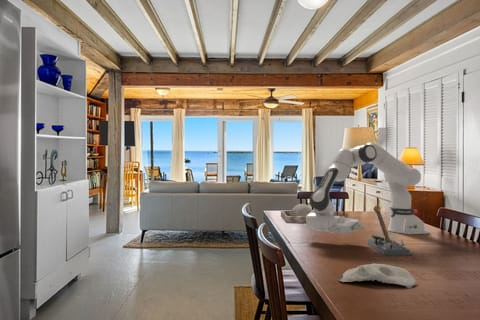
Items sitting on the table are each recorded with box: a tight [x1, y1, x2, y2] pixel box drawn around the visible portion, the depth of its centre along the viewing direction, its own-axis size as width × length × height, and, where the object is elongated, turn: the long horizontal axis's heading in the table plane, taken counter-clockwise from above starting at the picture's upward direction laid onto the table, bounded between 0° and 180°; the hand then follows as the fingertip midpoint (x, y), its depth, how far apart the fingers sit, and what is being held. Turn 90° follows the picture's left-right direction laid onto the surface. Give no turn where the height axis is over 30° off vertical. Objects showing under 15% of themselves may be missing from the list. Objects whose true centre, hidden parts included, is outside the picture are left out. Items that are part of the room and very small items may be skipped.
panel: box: [367, 238, 411, 256], centre depth 176 cm, size 12×20×5 cm, turn 1°
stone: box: [338, 263, 418, 289], centre depth 134 cm, size 28×7×15 cm
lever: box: [373, 205, 392, 246], centre depth 173 cm, size 3×4×20 cm
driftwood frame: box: [280, 210, 306, 224], centre depth 253 cm, size 24×24×4 cm
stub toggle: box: [400, 239, 407, 249], centre depth 168 cm, size 1×2×4 cm, turn 148°
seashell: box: [290, 203, 313, 216], centre depth 254 cm, size 15×14×15 cm
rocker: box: [371, 234, 385, 241], centre depth 182 cm, size 5×3×1 cm, turn 91°
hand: (364, 227), depth 178 cm, fingers closed
